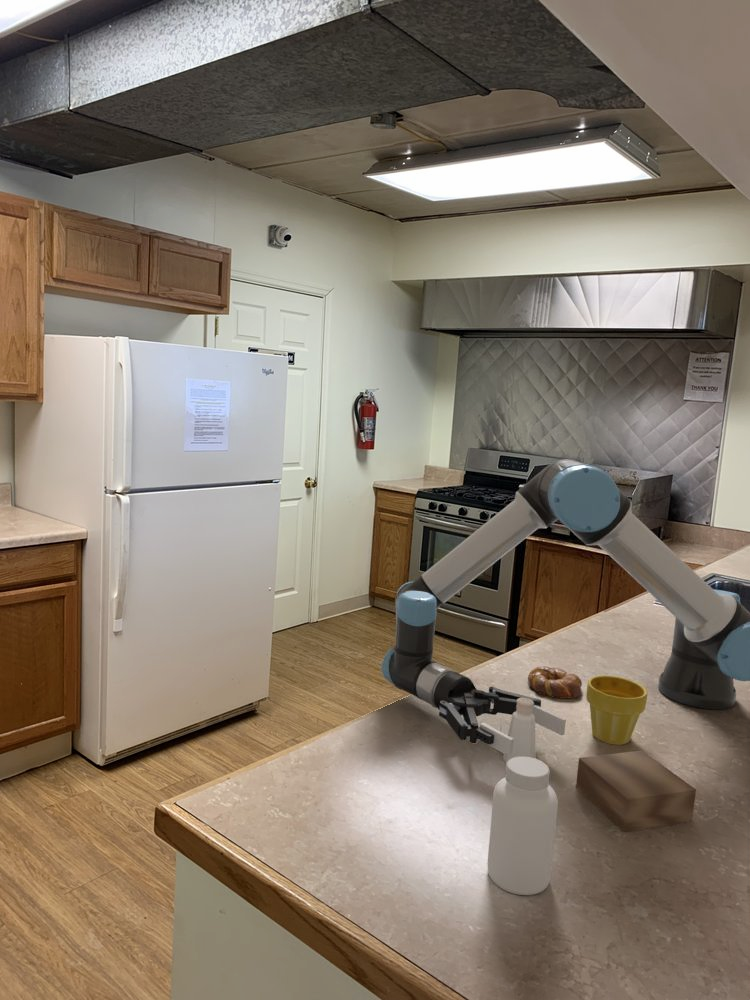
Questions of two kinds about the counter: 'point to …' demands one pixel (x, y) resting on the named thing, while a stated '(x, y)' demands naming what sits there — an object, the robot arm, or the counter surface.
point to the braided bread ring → (554, 682)
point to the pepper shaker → (522, 730)
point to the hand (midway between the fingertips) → (538, 737)
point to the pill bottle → (522, 828)
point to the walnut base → (635, 790)
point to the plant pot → (615, 707)
